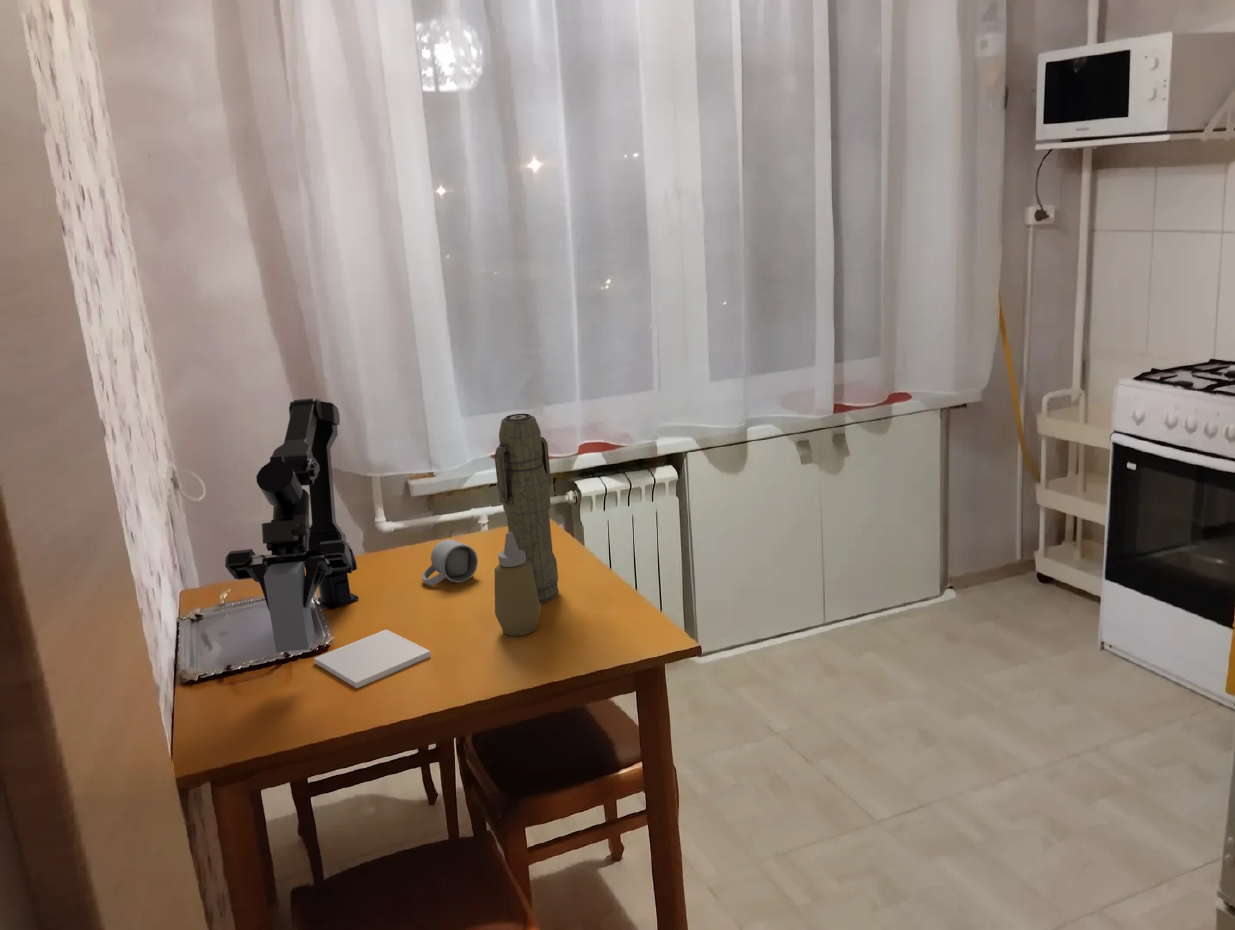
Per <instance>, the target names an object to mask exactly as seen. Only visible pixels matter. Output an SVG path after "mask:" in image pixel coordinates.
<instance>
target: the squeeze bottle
mask: <svg viewBox="0 0 1235 930" xmlns="http://www.w3.org/2000/svg"><path fill="white" fill-rule="evenodd" d="M497 555H498V556H497V557H498V564H497V566H496V567H495V568H494V614H495V618H496V619H497V622H498V623H499V626H500V628H501V630H502V632H503V634H505V635H508V636H512V637H519V636H526V635H529V634H531V633H533V632H534V631H536V629H537V628H538V623H539V618H540V615H541V614H540V613H541V611H542V607H541V603H540V602H539V597H538V593H537V588H536V583H535V579H534V574H533V569H532V565H531V564H530V563H529V562H527V561H526V557H525V551H523V550H521V549H518V547H517V544H516V541H515V538H514V535H513V533H512V532H507V533H505V539H504V549H503V550H502V551H500V552H499V553H498V554H497Z"/></svg>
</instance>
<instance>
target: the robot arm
mask: <svg viewBox="0 0 1235 930" xmlns="http://www.w3.org/2000/svg"><path fill="white" fill-rule="evenodd" d="M288 413H289V421H288V425H287V428H286V432H285V437H284V440H283V443H282V444H281V445H280V446H279V447H276V448H275V449H274V450H273V452H272V455H271V456H270V457H269V461H268V462H267V463H266V464H265V465H263V466H262V467H261V468H260V470H259V471H258V472H257V474H256V478H255V479H256V483H257V486H258V487H259V488H260V491H261V492H262V494H263V496H264V497H265V499H266V501H267V502H268V503H269V505H270V506H273V508H272V519H271V520H270V522H263V523H261V530H262V531H261V533H262V534H261V536H262V544H263V545H266V546H265V548H266V550H267V551H268V552H270V551H271V553H270V554H267V555H264V554H256V553H255V552H254V550H253V549H252V548H247V549H238V550H231V551H229V553H228V554H227V555H226V556H225V563H224V565H225V566H224V567H225V568H226V569H227V571H228V572H229V573H230V574H231V576H232V577H233V578H234V580H238V581H240V580H249V579H253V581H254V582H255V583H259V585H260V587H261V590H262V594H263V597H264V600H265V603H266V607H267V610H268V611H269V605H268V599H267V593H266V587H265V581H264V575H265V573H266V572H267V570H268V569H269V567H270V566H271V564H281V563H292V562H303V563H304V570H305V576H306V577H305V586H304V594H303V606H304V607H305V608H307V607H308V606H309V604H310V605H311V601H312V599H313V597H314V596H315V593H316V591H317V589H318V591H319V597H317V598H318V601H319V602H320V605H319V606H321V607H323V608H324V609H327V610H333V609H335V608H338V607H340V606H344V605H347V604H349V603H352V602H355V601H358V600H359V599H360V598H359V596H358V595H356V594H354V593H352V592H351V588H350V582H349V581H350V580H349V574H352V573H353V571H357V570H358V565H357V560H356V559H357V558H356V557H355V553H354V550H353V549H352V547H351V546H350V543H349V542H347V536H346V534H345V533H344V531H343V530H342V528H341V527H340V526H339V524H338V523H337V517H336V506H335V505H336V504H335V493H334V490H335V489H334V480H333V466H332V465H333V464H332V453H331V452H332V451H331V448H332V446H333V444H334V442H335V441H336V439H337V438H338V426H340V424H341V423H340V418H341V417H340V411H339V408H338V407H337V406H336V405H335V403H333V402H330V401H321V400H320V399H319V398H314V397H313V398H312V397H311V398H303V399H294V400H293V401H290V402H289V407H288ZM304 486H305V487H306V486H308V487H309V493H308V491H307V490H306V489H304V488H303V487H304ZM310 512H311V513H310ZM310 517H311V525H310Z"/></svg>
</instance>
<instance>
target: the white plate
mask: <svg viewBox="0 0 1235 930" xmlns="http://www.w3.org/2000/svg"><path fill="white" fill-rule="evenodd" d="M431 655H432V654H431V650H429V649H427V648H425V647H423V646H421V645H419V644H417V643H415V642H413V641H411V640H409V639H406V638H404V637H403V636H401V635H399V634H397V633H394V632H392V631H391V630H388V629H383V630H381V631H379V632H376V633H373V634H372V635H368V636H365V637H363V638H361V639H359V640H356V641H353V642H351V643H348V644H346V645H344V646H341V647H338V648H336V649H333V650H330V651H328V652H325V653H323V654H320V655H317V656H315V657H313V660H314V661H313V662H314V664H316V665H317V666H319V667H321V668H322V669H324V670H326V671H327V672H329V673H331V674H332V675H334V676H335V677H337V678H338V679H341V680H342V681H343V682H346V683H347V684H348V685H351V686H352V687H354V688H355V689H359V688H361V687H363V686H365V685H368V684H371V683H372V682H375V681H377V680H379V679H382V678H384V677H386V676H389V675H392V674H393V673H396V672H398V671H400V670H402V669H405V668H407V667H410V666H413V665H414V664H417V663H419V662H421V661H424V660H426V659H428V658H430V657H432V656H431Z"/></svg>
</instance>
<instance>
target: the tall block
mask: <svg viewBox="0 0 1235 930" xmlns="http://www.w3.org/2000/svg"><path fill="white" fill-rule="evenodd" d="M305 577H306V570H305V567H304V563H303V562H292V563H281V564H271V566H270V567H269V569H268V570H267V572H266V573H265V575H264V581H265V587H266V593H267V599H268V605H269V610H268V611H269V617H270V623H271V627H272V633H273V640H274V647H275V652H276V653H282V652H283V653H284V652H292V651H293V652H294V651H305V650H309V649H310V647H311V646H312V645H311V644H312V642H313V641H314V638H315V636H316V635H315V628H314V621H313V617H312V609H311V603H310V604H309V606H308V607H307V608H305V607H304V606H303V594H304V586H305Z"/></svg>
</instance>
